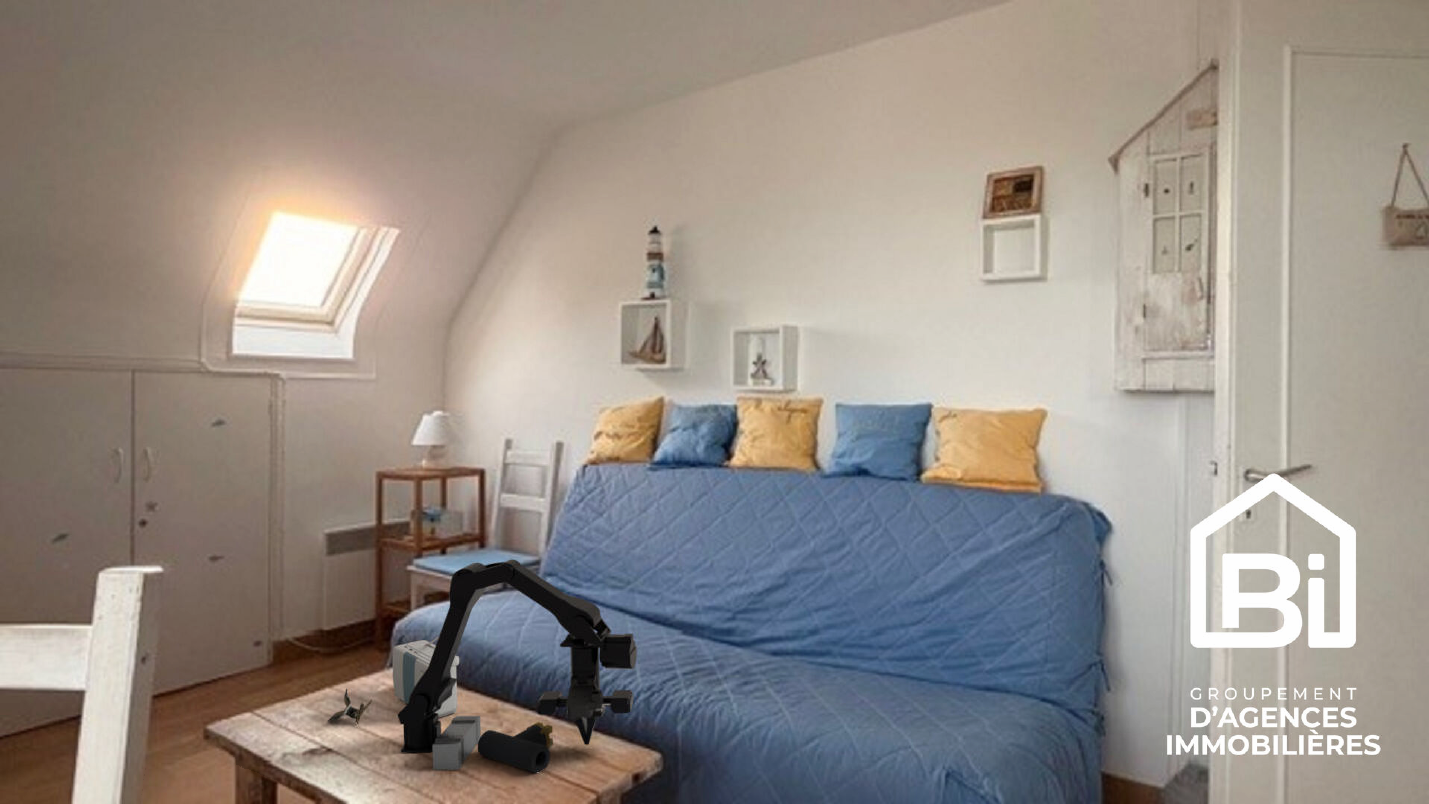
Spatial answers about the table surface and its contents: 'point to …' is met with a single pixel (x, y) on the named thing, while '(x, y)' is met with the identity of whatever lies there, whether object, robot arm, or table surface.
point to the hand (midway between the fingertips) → (587, 744)
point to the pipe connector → (519, 747)
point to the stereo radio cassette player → (418, 672)
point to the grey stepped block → (456, 743)
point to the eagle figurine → (350, 710)
